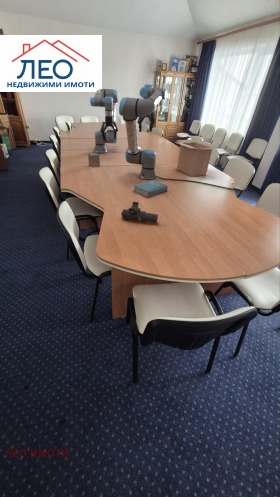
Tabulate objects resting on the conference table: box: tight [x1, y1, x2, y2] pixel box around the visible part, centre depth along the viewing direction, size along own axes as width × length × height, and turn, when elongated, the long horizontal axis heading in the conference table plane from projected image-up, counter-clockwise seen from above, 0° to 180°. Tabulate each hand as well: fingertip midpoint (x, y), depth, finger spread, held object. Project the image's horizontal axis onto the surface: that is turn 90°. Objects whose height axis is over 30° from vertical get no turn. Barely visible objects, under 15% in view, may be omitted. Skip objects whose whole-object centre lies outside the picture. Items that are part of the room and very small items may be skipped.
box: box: [174, 139, 219, 177], centre depth 219 cm, size 44×36×27 cm
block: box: [87, 152, 101, 168], centre depth 222 cm, size 8×8×11 cm
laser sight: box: [120, 201, 159, 224], centre depth 136 cm, size 10×22×10 cm, turn 78°
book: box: [133, 179, 169, 198], centre depth 177 cm, size 23×16×5 cm
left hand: (109, 139), depth 229 cm, fingers open, 13 cm apart
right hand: (145, 131), depth 213 cm, fingers open, 13 cm apart
